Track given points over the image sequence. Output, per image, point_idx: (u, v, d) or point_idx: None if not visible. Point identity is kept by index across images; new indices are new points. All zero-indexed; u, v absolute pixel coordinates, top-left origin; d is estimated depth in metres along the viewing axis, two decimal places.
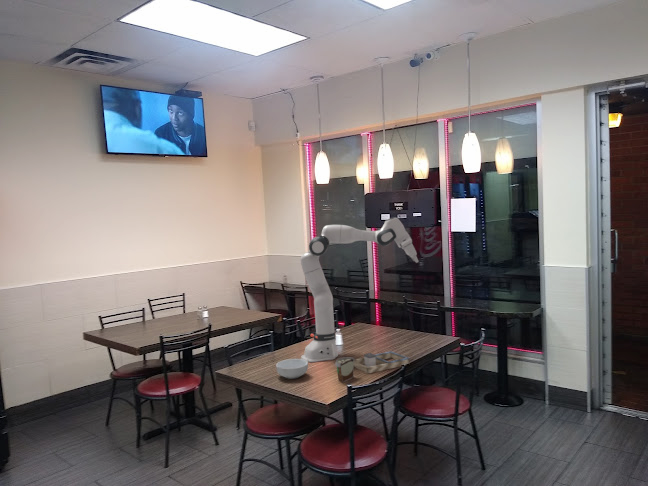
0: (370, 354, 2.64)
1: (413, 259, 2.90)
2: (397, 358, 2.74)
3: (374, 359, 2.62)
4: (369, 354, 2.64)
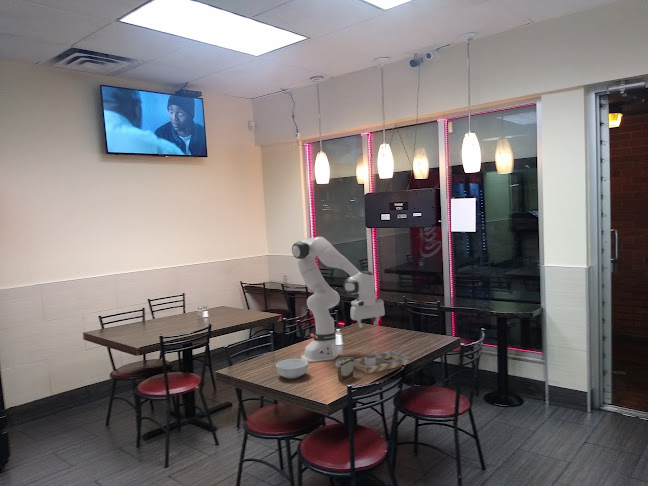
0: (370, 354, 2.64)
1: (374, 322, 2.65)
2: (397, 358, 2.74)
3: (374, 359, 2.62)
4: (369, 354, 2.64)
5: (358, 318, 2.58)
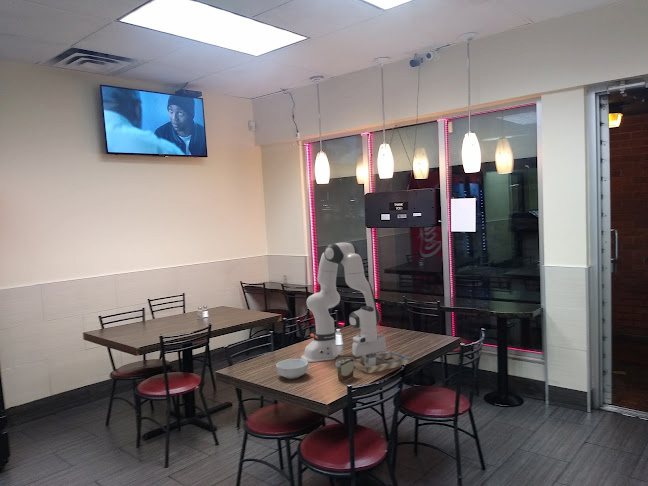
0: (370, 354, 2.64)
1: None
2: (397, 358, 2.74)
3: (374, 359, 2.62)
4: (369, 354, 2.64)
5: (360, 354, 2.59)
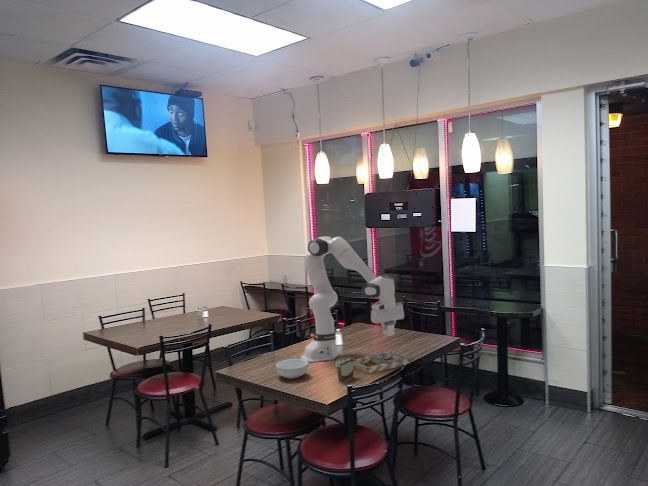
0: (388, 322, 2.69)
1: None
2: (397, 358, 2.74)
3: (392, 326, 2.67)
4: (387, 322, 2.69)
5: (379, 321, 2.64)
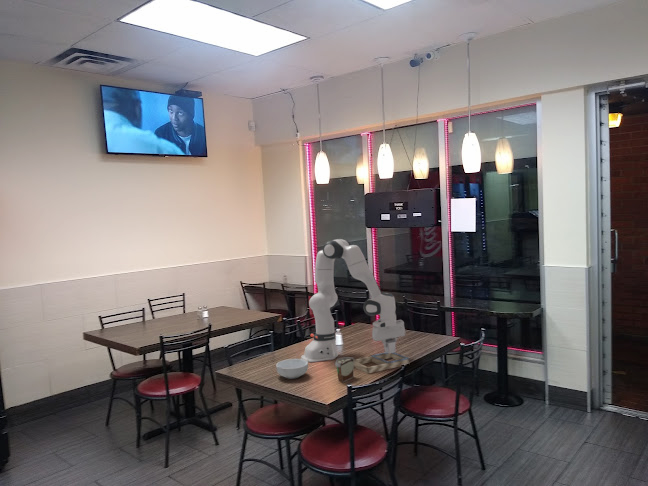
0: (390, 339, 2.69)
1: None
2: (397, 358, 2.74)
3: (394, 344, 2.68)
4: (389, 339, 2.69)
5: (380, 339, 2.64)
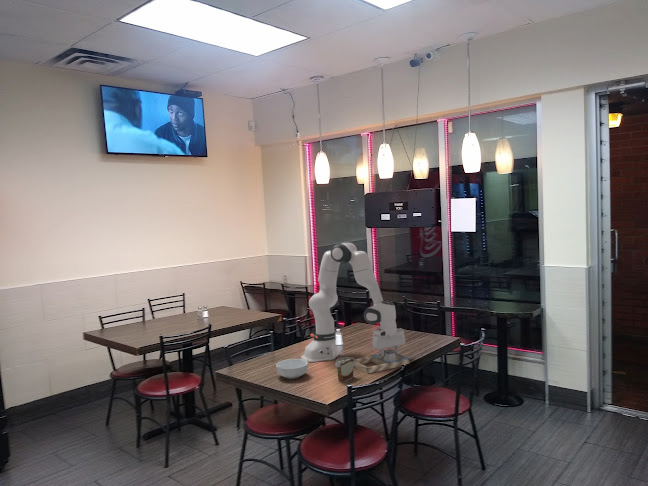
0: (390, 350, 2.70)
1: None
2: (397, 358, 2.74)
3: (394, 355, 2.68)
4: (389, 350, 2.70)
5: (380, 347, 2.65)
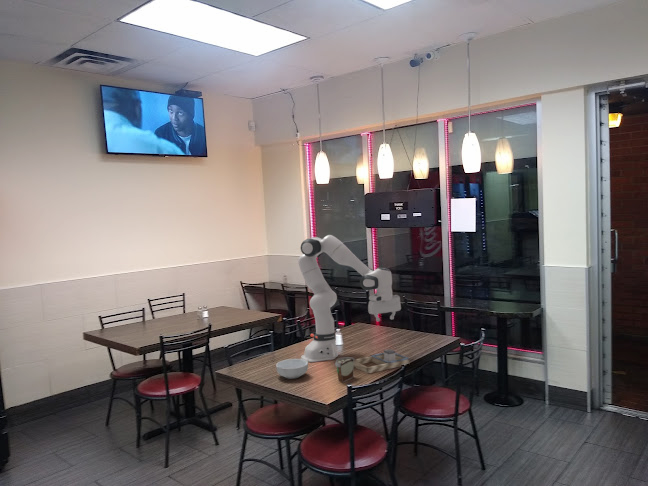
0: (390, 350, 2.70)
1: (390, 317, 2.77)
2: (397, 358, 2.74)
3: (394, 355, 2.68)
4: (389, 350, 2.70)
5: (375, 312, 2.70)
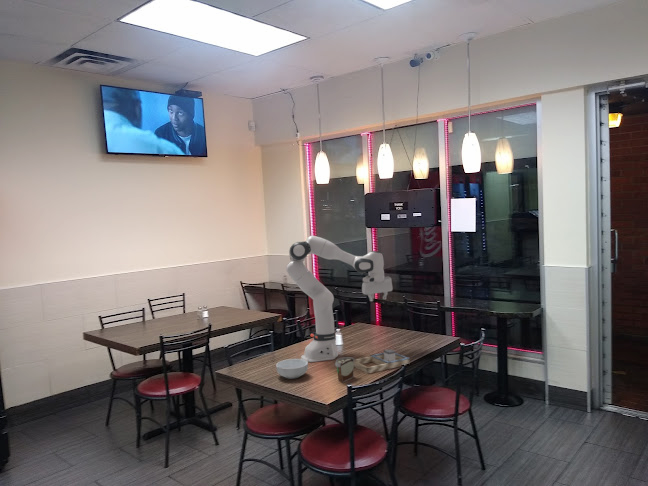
0: (390, 350, 2.70)
1: (383, 297, 2.96)
2: (397, 358, 2.74)
3: (394, 355, 2.68)
4: (389, 350, 2.70)
5: (369, 293, 2.89)
